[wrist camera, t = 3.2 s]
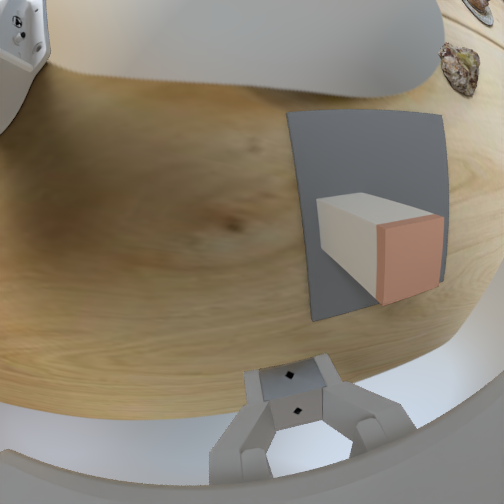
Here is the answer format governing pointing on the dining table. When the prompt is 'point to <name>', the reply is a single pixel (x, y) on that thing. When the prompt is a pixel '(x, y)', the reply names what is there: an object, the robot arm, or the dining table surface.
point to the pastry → (481, 10)
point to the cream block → (382, 244)
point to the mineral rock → (460, 67)
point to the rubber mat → (363, 182)
